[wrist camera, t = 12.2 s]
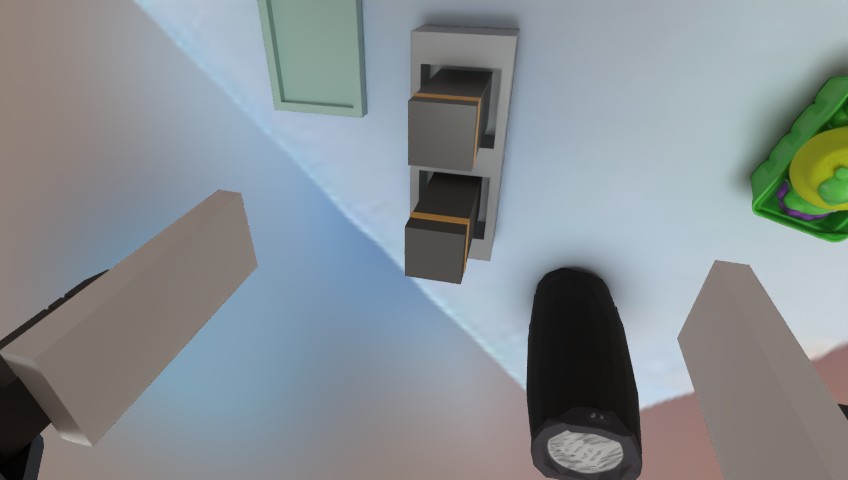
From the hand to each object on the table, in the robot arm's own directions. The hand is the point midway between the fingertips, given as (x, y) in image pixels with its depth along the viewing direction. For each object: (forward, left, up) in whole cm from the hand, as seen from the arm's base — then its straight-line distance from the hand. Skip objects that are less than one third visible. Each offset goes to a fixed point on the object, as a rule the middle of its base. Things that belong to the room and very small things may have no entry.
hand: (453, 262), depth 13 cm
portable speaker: (+23, +9, -30) cm, 39 cm away
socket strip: (+7, -4, -30) cm, 31 cm away
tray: (-1, -18, -30) cm, 35 cm away
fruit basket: (+4, +24, -30) cm, 39 cm away
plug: (+12, -4, -29) cm, 32 cm away
